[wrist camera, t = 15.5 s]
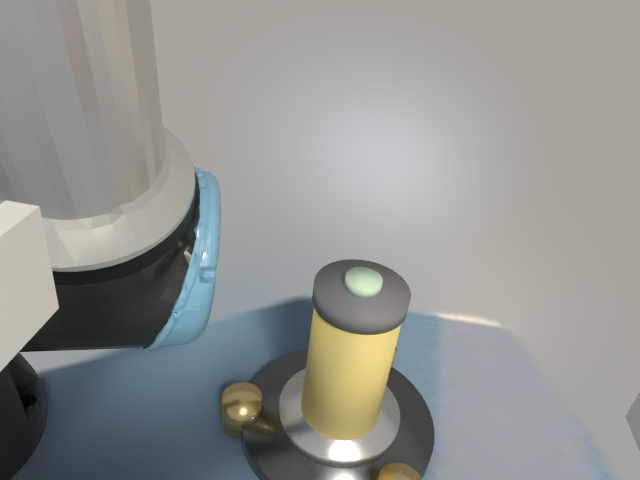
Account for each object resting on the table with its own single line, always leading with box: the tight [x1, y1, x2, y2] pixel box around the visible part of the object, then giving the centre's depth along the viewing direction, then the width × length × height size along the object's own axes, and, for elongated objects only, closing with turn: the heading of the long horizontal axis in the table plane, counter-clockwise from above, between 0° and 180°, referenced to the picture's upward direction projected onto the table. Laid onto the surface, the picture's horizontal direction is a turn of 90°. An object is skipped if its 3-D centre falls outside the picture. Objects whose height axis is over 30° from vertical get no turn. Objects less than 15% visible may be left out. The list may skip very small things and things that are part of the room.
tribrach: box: [222, 347, 434, 480], centre depth 46 cm, size 17×18×3 cm
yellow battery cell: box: [301, 260, 411, 441], centre depth 41 cm, size 7×7×13 cm
